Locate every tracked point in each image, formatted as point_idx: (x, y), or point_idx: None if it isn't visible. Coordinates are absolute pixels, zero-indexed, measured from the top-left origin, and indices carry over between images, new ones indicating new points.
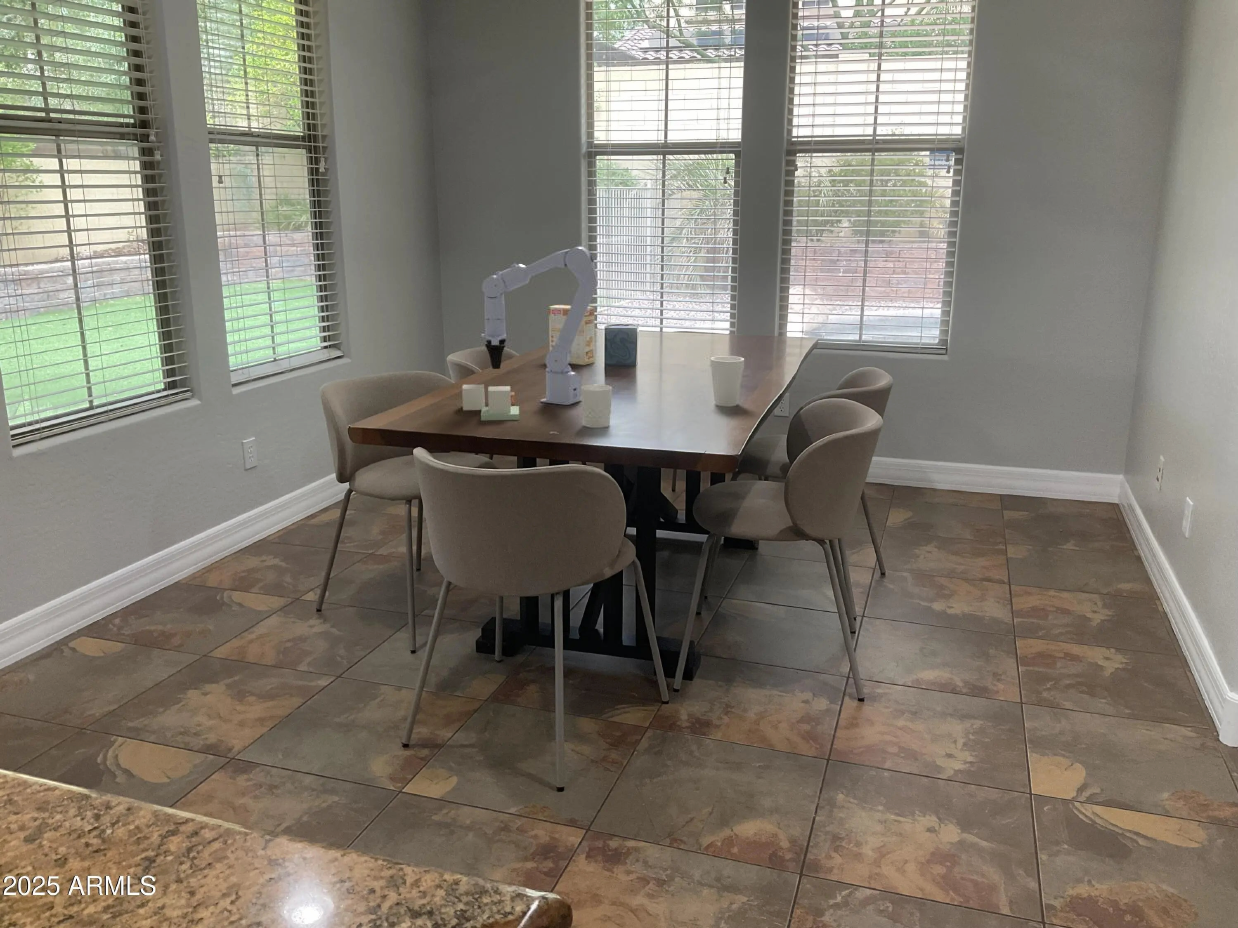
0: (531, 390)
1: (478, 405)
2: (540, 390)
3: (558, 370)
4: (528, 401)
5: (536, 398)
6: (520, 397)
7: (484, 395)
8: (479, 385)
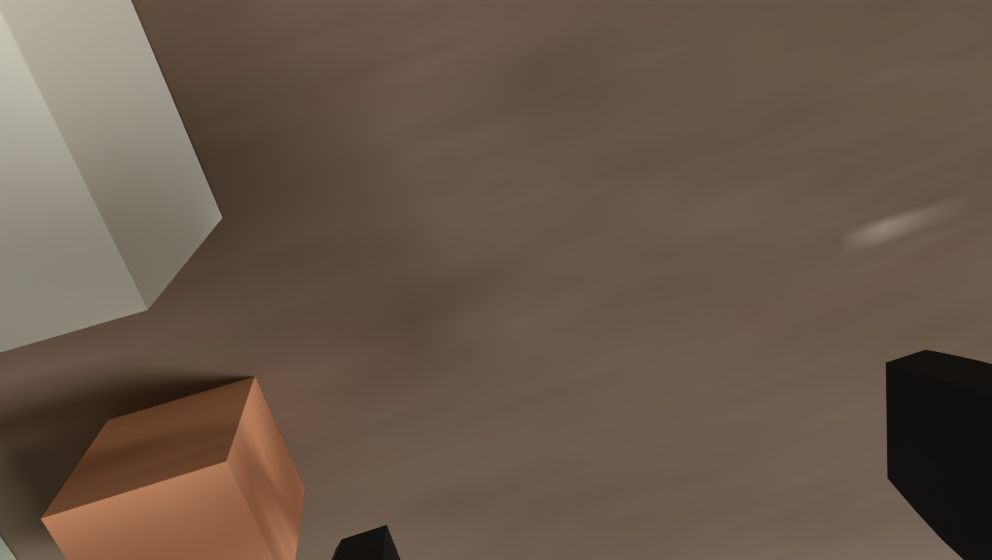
0: None
1: None
2: None
3: None
4: (506, 533)
5: (634, 548)
6: (666, 421)
7: (191, 253)
8: (26, 264)
